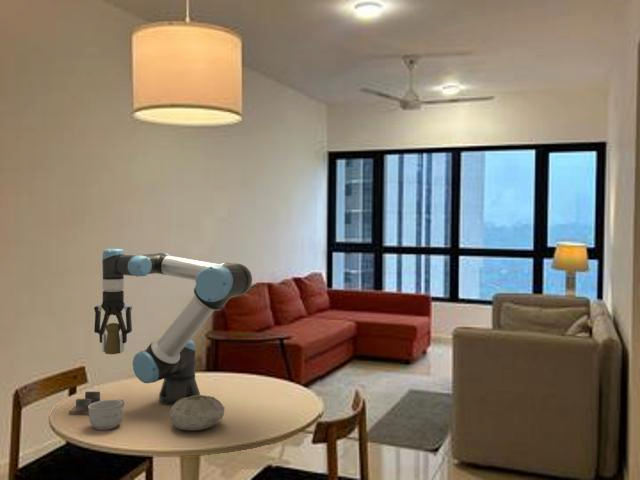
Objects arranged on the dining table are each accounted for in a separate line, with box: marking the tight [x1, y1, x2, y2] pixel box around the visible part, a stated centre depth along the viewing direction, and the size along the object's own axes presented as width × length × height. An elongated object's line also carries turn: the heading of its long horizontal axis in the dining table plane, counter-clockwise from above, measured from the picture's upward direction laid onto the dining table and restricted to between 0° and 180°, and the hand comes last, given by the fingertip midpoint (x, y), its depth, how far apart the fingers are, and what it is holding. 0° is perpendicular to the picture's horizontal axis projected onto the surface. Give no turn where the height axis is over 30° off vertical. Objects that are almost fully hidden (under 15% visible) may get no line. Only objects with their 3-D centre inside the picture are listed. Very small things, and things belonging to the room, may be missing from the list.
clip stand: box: [68, 391, 101, 415], centre depth 224 cm, size 10×10×5 cm
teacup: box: [88, 398, 125, 431], centre depth 208 cm, size 14×11×8 cm
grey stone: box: [169, 394, 225, 432], centre depth 208 cm, size 18×18×10 cm
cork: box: [104, 322, 122, 355], centre depth 234 cm, size 6×6×11 cm
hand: (113, 351), depth 234 cm, fingers closed on cork, 6 cm apart
